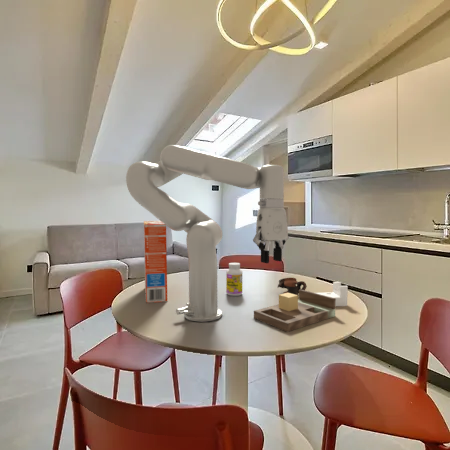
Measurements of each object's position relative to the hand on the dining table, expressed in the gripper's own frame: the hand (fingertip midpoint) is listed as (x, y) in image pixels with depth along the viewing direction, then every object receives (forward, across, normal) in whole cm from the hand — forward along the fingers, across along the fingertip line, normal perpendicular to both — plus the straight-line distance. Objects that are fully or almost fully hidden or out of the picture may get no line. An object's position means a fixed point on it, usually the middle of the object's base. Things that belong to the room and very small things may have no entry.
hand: (271, 261), depth 110 cm
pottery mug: (+20, +28, +17) cm, 38 cm away
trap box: (+19, +8, -2) cm, 21 cm away
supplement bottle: (+20, +10, +32) cm, 39 cm away
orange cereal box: (+20, -16, +52) cm, 58 cm away
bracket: (+20, +29, +1) cm, 36 cm away
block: (+17, +8, 0) cm, 19 cm away
